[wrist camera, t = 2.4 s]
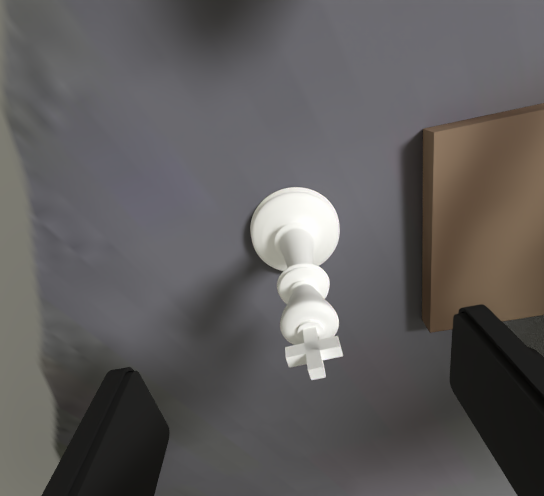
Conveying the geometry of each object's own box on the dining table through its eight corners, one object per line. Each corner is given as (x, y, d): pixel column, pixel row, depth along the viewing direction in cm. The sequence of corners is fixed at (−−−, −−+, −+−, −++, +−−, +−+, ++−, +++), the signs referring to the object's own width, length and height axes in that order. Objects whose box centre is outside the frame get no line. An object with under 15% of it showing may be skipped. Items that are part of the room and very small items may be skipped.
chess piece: (238, 201, 17) (204, 328, 9) (328, 175, 17) (393, 283, 8) (265, 276, 20) (260, 439, 11) (346, 256, 19) (412, 411, 10)
